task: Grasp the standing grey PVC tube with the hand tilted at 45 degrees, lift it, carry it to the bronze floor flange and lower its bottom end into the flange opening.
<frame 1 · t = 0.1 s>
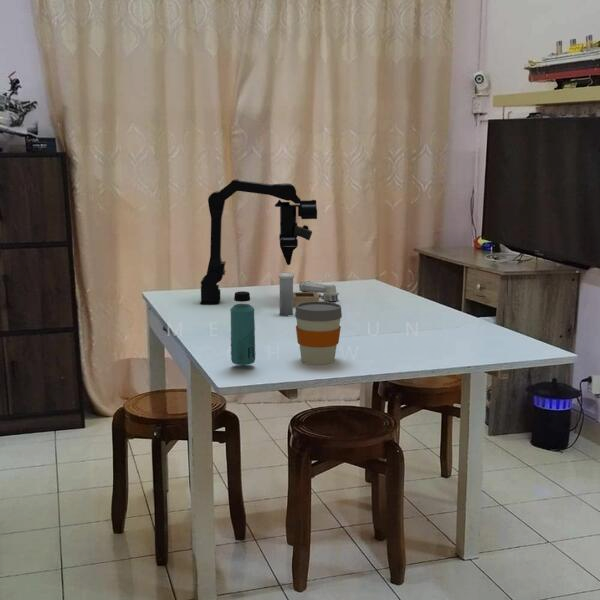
hand: (288, 262, 286), 15 cm above the table, tool pointing down, fingers open, 9 cm apart
socket flange: (304, 304, 286), on the table
reusable coffee cup: (317, 361, 215), on the table
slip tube: (286, 314, 270), on the table
white elongated device: (318, 297, 302), on the table
beverage bottle: (243, 367, 209), on the table
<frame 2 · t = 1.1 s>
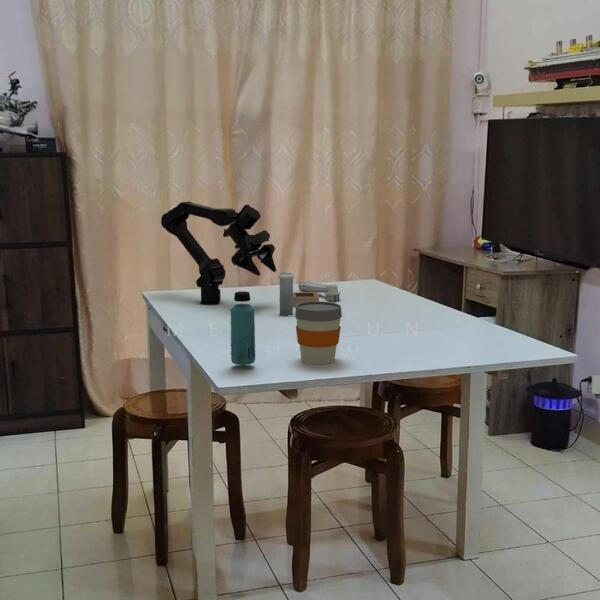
hand: (267, 273, 272), 13 cm above the table, tool tilted 45°, fingers open, 9 cm apart
nothing on the table moved.
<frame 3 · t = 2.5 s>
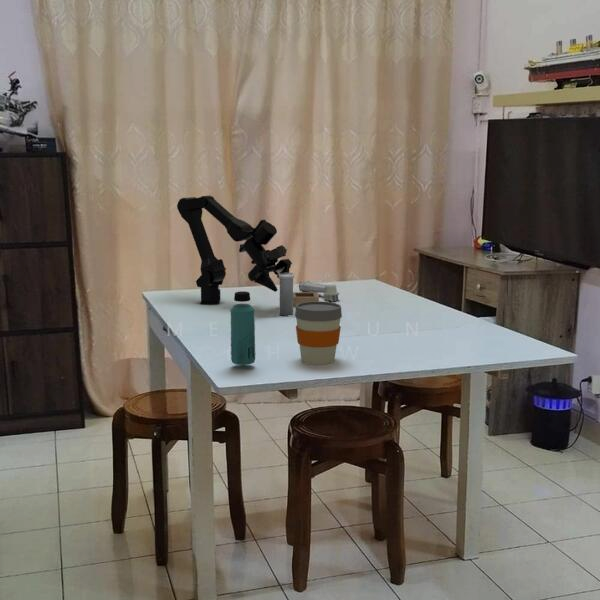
hand: (284, 288, 269), 9 cm above the table, tool tilted 45°, fingers open, 9 cm apart
nothing on the table moved.
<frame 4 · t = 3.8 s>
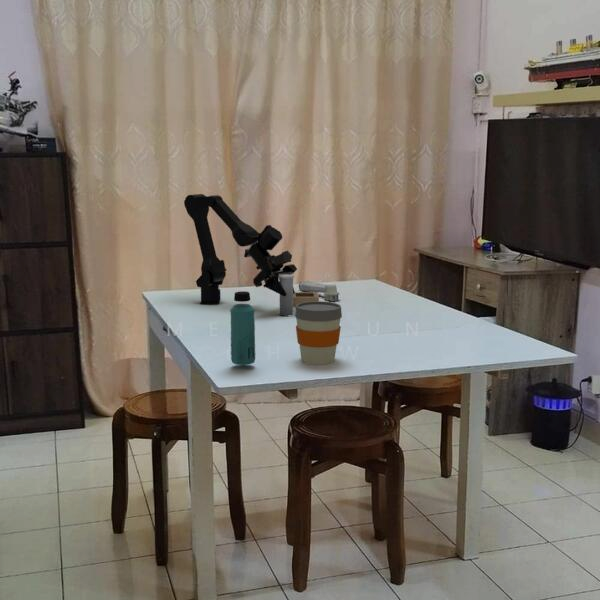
hand: (289, 294, 268), 7 cm above the table, tool tilted 45°, fingers closed on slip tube, 4 cm apart
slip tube: (286, 314, 270), on the table, touching gripper
everything else where it was.
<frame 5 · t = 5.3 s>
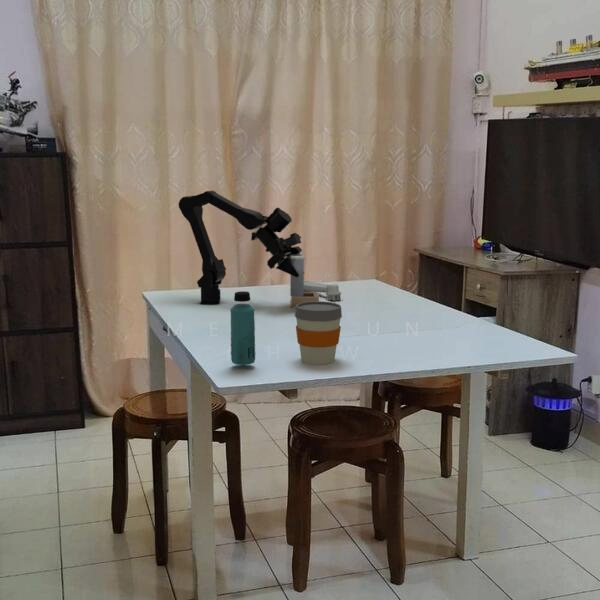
hand: (300, 275, 273), 12 cm above the table, tool tilted 45°, fingers closed on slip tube, 4 cm apart
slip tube: (296, 295, 275), point 5 cm above the table, touching gripper
when the fingers open (8 cm above the table, at t = 7.2 s): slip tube stays where it is, resting on socket flange.
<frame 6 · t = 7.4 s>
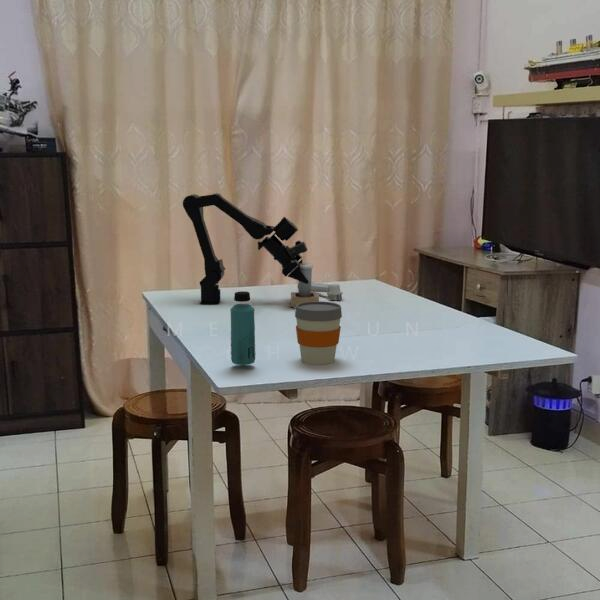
hand: (308, 281, 284), 9 cm above the table, tool tilted 45°, fingers open, 7 cm apart
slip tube: (304, 302, 286), point 1 cm above the table, touching socket flange
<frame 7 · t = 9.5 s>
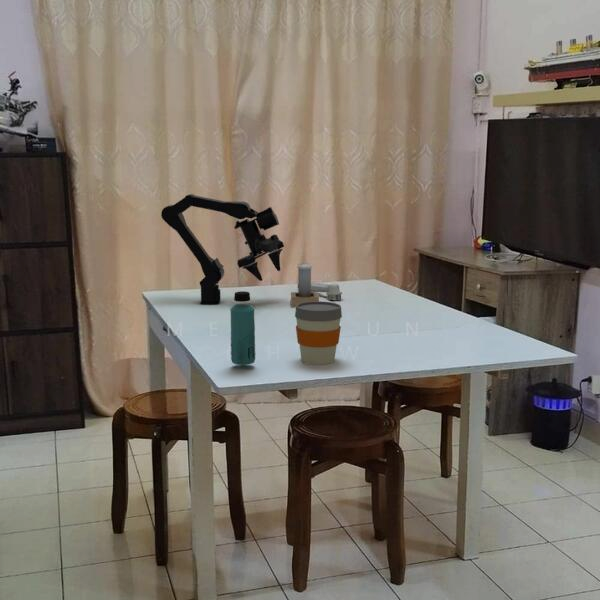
hand: (270, 275, 285), 10 cm above the table, tool tilted 25°, fingers open, 9 cm apart
nothing on the table moved.
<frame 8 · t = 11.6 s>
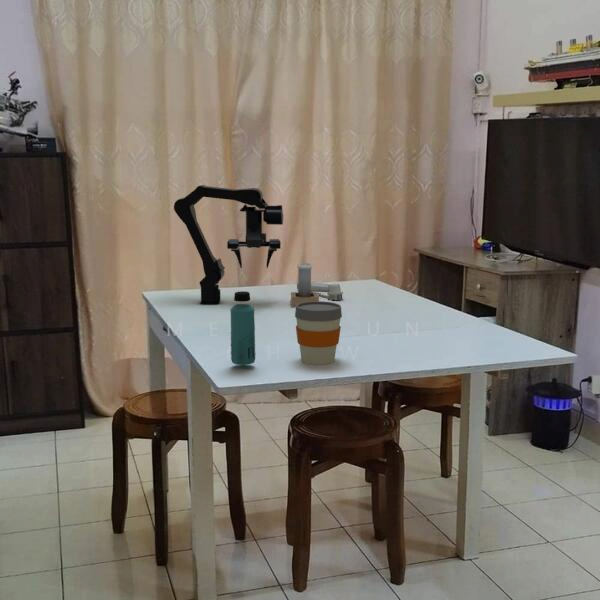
hand: (254, 268, 284), 13 cm above the table, tool pointing down, fingers open, 9 cm apart
at the end: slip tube 0.0 cm off-centre on the socket flange, point 0.6 cm above the socket flange's base; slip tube tilted 0°; the gripper is holding nothing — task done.
